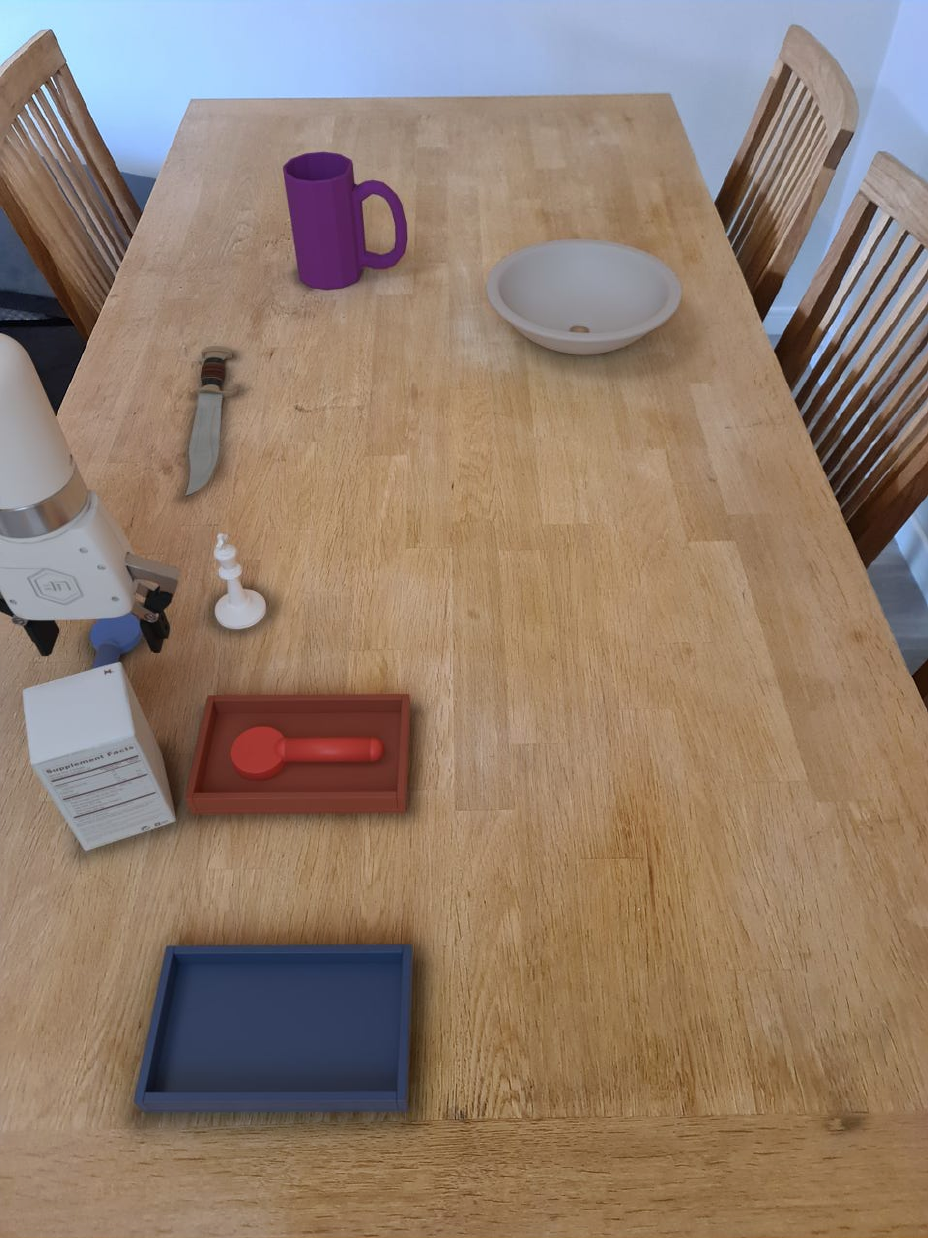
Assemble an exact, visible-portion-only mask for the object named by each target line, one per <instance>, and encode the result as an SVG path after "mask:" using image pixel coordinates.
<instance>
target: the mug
mask: <svg viewBox="0 0 928 1238" xmlns="http://www.w3.org/2000/svg"><path fill="white" fill-rule="evenodd" d="M282 172H283V179H284V185H285V192H286V199H287V206H288V213H289V220H290V226H291V233H292V240H293V247H294V253H295V260H296V267H297V273H298V279H299V281H300V282H302V283H303V284H304V285H306V286H307V287H309V288H311V289H317V290H323V291H331V290H332V291H333V290H341V289H344V288H347V287H349V286H352V285H353V284H357V283H358V282H359V280H360V279H361V276H362V272H363V269H365V268H370V269H372V270H387V269H389V268H392V267H395V266H397V264H398V263H399V262H400V260H401V259H402V258H403V257H404V255H405V254H406V252H407V251H406V250H407V246H408V245H407V244H408V239H409V238H408V222H407V219H406V218H407V217H406V214H405V210H404V204H403V202H402V201H401V199H400V197H399V195H398V194H397V193H396V192H395V191H394V190H393V189H392V188H391V186H389V185H388V184H387V183H385V182H384V181H381V180H376V179H370V180H369V179H368V180H364V181H362V182H360V183H358V184H357V183H356V181H355V173H354V164H353V160H352V159H351V158H349V157H348V156H345V155H343V154H341V153H337V152H331V151H330V152H329V151H315V152H306V153H302V154H300V155H297V156H294V157H291V158H289V160H288V161H287V162H286V163H285V164H284V165H283V166H282ZM372 195H374V196H375V195H376V196H379V197H381V198H383V199H384V200H385V202H386V203H387V204H388V206H389V208H390V211H391V214H392V218H393V223H394V238H395V239H394V240H395V241H394V245H393V248H391V250H390V251H388V252H385V253H382V254H381V253H378V252H373V251H368V250H367V246H366V233H365V232H366V231H365V220H364V219H365V218H364V208H363V202H364V201H365V200H366V199H368V198H369V197H370V196H372Z"/></svg>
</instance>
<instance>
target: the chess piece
mask: <svg viewBox="0 0 928 1238" xmlns="http://www.w3.org/2000/svg"><path fill="white" fill-rule="evenodd" d="M216 538H217V541H218V542H217V544H216V545H215V549H214V550H213V557H214V559H215V560H216V561H217V562H218V563H219V564H220V566H219V568H218V572H217V574H218V576H219V577H220V578H221V579H222V580H226V585H227V593H225V594H224V595H223V596H221V597H220V598H219V600H218V601H217V602H216V604H215V607H214V616H215V618H216V620H217V622H218V623H219V624H220V625H222V627H224V628H227V629H230V630H231V629H232V630H243V629H247V628H250V627H253V626H254V625H256V624H257V623H259V622H260V620H262V619H263V618H264V616H265V614H266V611H267V604H266V600H265V598H264V597H263V595H262V594H261V593H259V592H258V591H256V590H254V589H248V588H243V586H242V583H241V581H240V579H239V577H240V575H242V572H243V568H242V565H240V564H239V563H238V562H237V561H236V558H237V548H236V547H235V545H233V544H229V543H228V541H229V539H230V538H229V534H227V533H218V535H217V536H216Z"/></svg>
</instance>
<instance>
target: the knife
mask: <svg viewBox="0 0 928 1238" xmlns="http://www.w3.org/2000/svg"><path fill="white" fill-rule="evenodd" d="M201 358H202V359H204V361H203V363H202V367H201V373H200V380H201V387H200V386H198V387H197V388H196V393H197V397H198V398H197V406H196V411H195V416H194V421H193V425H192V430H191V436H190V441H189V446H188V459H189V465H190V466H189V467H190V471H189V473H190V475H189V481H188V486H187V489H186V493H185V497H186V496H190V495H192V494H194V493H196V492H198V491H199V490H201V489H203V487H205V486H206V484H207V483H208V482H209V480H210V478H211V476H212V473H213V472H214V469H215V467H216V464H217V461H218V458H219V453H220V452H219V451H220V441H221V440H220V438H221V428H222V427H221V425H222V407H223V399H226V398H231V397H233V396H235V395H237V393H238V392H239V388H238V387H237V388H235V389H234V390H221V386H222V384H223V382H224V379H225V360H227V359H228V360H229V359H233V352H232V350H231V349H230V348H229V347H226V346H221V345H220V346H219V345H211V346H207V347H205V348H203V349H202V350H201Z"/></svg>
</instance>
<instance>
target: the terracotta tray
mask: <svg viewBox="0 0 928 1238" xmlns="http://www.w3.org/2000/svg"><path fill="white" fill-rule="evenodd" d="M410 696H411V695H410V694H409V693H354V694H353V693H351V694H348V693H347V694H344V693H343V694H342V693H341V694H332V693H331V694H233V695H232V694H227V695H226V694H223V695H222V694H217V695H214V694H209V695H207V697H206V701H205V706H204V709H203V714H202V719H201V724H200V729H199V733H198V737H197V741H196V746H195V749H194V750H195V751H194V756H193V760H192V764H191V768H190V773H189V778H188V783H187V787H186V791H185V796H184V801H185V803H186V805H187V808H188V810H189V812H190V815H317V814H320V815H321V814H322V815H324V814H325V815H329V814H333V815H334V814H335V815H336V814H406V813H407V805H408V803H407V802H408V781H409V780H408V779H409V762H410V761H409V759H410V737H411V713H412V709H411V697H410ZM260 726H265V727H271V728H274V729H276V730H278V731H279V732H280V733H281V734H282V735H283V736H284V738H338V737H374V738H377V739H379V740H380V741H381V742H382V743H383V746H384V753H383V755H382V757H381V758H380V759H379V760H377V761H375V762H287V763H286V765H285V766H284V768H283V769H282V770H281V771H280V772H279V773H277V774H276V775H274V776H273V777H270V778H268V779H264V780H250V779H246V778H244V777H242V776H241V775H240V774H238V773H237V771H236V770H235V768H234V766H233V763H232V760H231V756H230V751H231V747H232V744H233V742H234V741H235V739H236V738H237V737H238V736H239V735H240V734H241V733H243V732H244V731H246V730H248V729H251V728H254V727H260Z"/></svg>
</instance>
